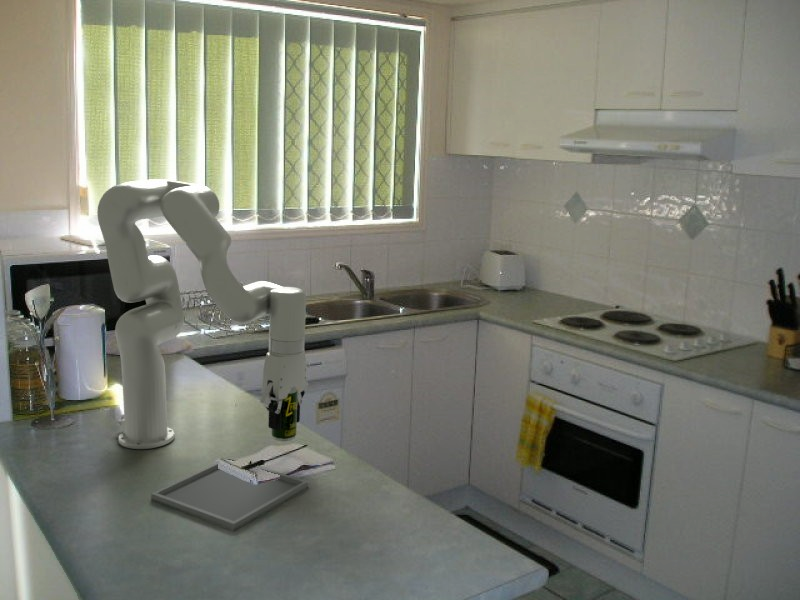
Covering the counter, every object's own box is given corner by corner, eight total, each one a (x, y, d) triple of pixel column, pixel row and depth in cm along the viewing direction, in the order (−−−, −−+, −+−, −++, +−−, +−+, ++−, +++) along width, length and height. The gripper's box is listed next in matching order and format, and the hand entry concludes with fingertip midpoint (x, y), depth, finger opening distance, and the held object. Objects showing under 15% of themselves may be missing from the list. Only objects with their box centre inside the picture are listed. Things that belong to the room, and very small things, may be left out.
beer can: (266, 437, 181) (267, 385, 178) (281, 430, 185) (283, 379, 182) (286, 444, 178) (287, 391, 175) (301, 436, 183) (303, 384, 180)
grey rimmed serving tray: (151, 500, 164) (151, 493, 164) (229, 463, 182) (228, 456, 182) (234, 531, 153) (234, 523, 153) (308, 488, 171) (308, 481, 171)
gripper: (298, 333, 186) (295, 410, 190) (245, 350, 172) (244, 432, 176) (325, 340, 182) (321, 418, 186) (273, 357, 168) (271, 441, 172)
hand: (284, 424), depth 181 cm, fingers closed on beer can, 5 cm apart
